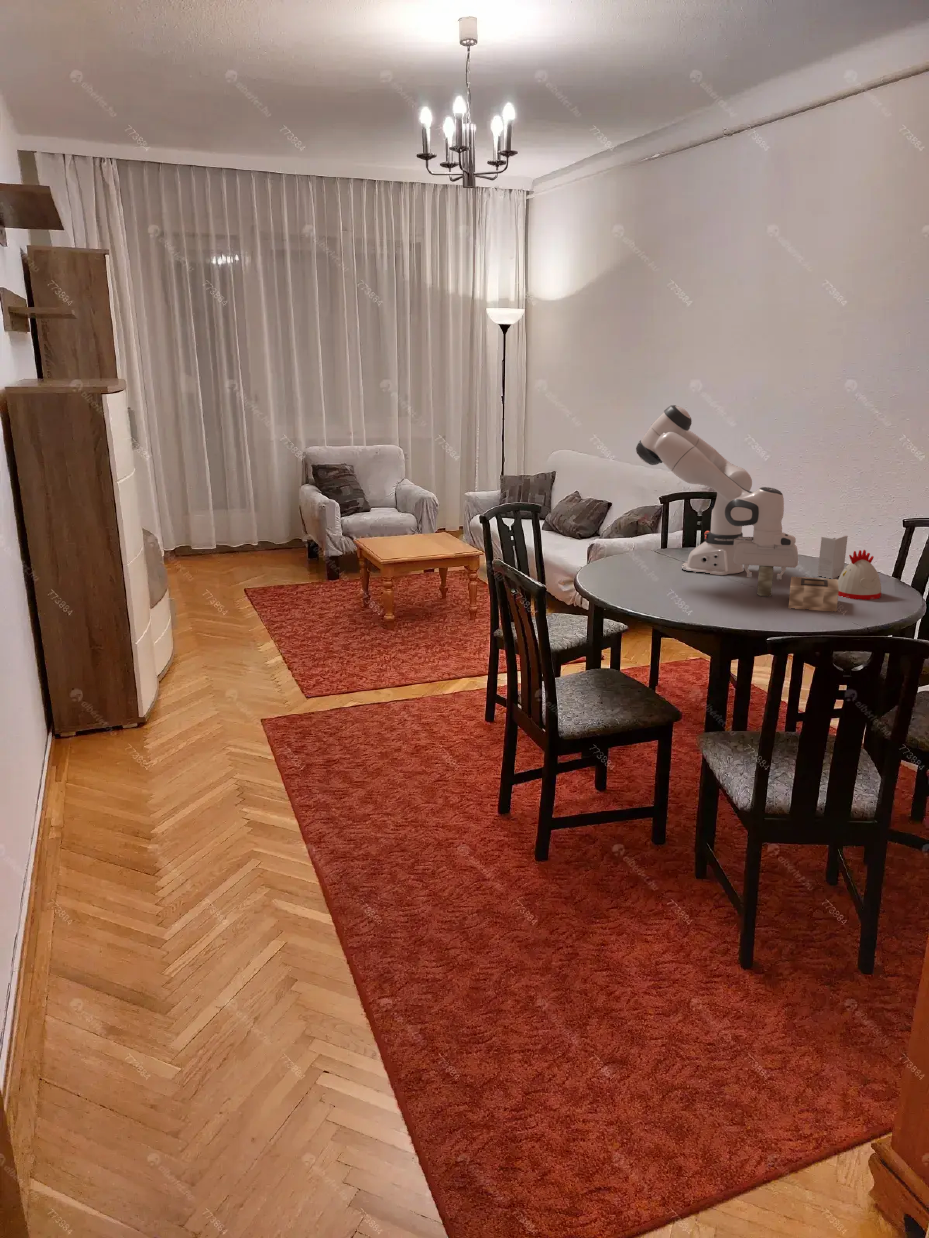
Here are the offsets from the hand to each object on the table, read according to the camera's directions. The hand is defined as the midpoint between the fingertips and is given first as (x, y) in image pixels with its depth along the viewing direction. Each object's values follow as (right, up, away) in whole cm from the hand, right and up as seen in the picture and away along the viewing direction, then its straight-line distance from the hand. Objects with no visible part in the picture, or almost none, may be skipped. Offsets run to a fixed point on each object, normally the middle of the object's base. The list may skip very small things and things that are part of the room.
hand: (764, 578), depth 288 cm
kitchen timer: (+31, -5, 0) cm, 31 cm away
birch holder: (+12, -9, -11) cm, 18 cm away
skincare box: (+32, +2, +24) cm, 40 cm away
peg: (+1, -5, +2) cm, 6 cm away
